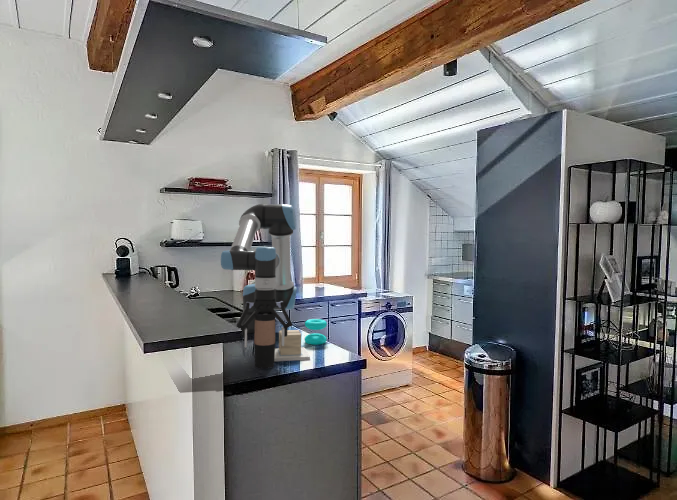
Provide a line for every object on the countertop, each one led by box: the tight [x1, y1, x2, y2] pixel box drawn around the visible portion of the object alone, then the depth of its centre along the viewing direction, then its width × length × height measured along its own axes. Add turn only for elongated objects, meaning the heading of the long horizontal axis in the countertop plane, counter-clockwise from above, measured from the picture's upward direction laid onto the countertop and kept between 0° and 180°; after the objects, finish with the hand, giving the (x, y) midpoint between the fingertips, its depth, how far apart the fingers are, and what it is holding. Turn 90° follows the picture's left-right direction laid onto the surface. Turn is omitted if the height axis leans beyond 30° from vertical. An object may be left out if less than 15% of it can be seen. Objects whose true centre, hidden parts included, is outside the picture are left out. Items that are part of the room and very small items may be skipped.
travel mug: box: [253, 312, 276, 370], centre depth 164 cm, size 8×8×20 cm
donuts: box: [304, 318, 328, 346], centre depth 200 cm, size 10×10×10 cm
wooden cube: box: [278, 329, 302, 355], centre depth 178 cm, size 8×8×8 cm
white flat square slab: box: [274, 346, 311, 362], centre depth 178 cm, size 14×14×1 cm
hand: (264, 345), depth 164 cm, fingers open, 13 cm apart
